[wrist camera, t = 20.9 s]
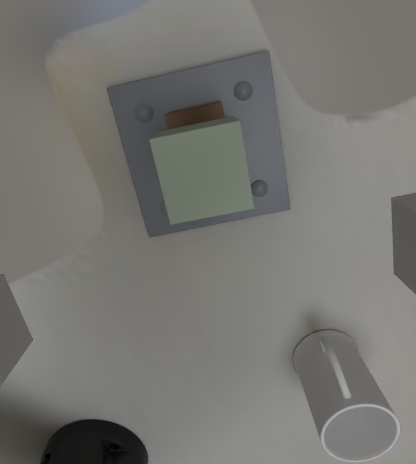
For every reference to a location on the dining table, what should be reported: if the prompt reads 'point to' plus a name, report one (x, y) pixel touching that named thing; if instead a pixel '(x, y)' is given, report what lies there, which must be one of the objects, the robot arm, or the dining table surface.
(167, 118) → the walnut brick
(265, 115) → the plate
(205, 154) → the sage brick
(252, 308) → the dining table surface
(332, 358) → the mug
